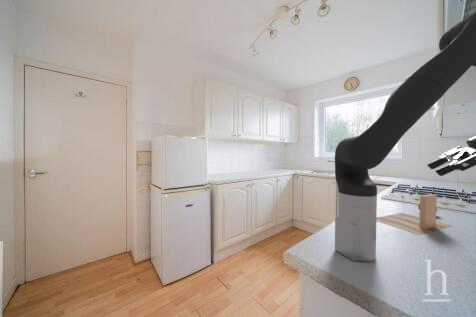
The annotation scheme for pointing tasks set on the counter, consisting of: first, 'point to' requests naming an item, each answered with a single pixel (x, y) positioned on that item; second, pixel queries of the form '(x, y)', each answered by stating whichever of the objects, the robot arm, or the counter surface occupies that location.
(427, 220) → the tile
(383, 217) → the board
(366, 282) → the counter surface
